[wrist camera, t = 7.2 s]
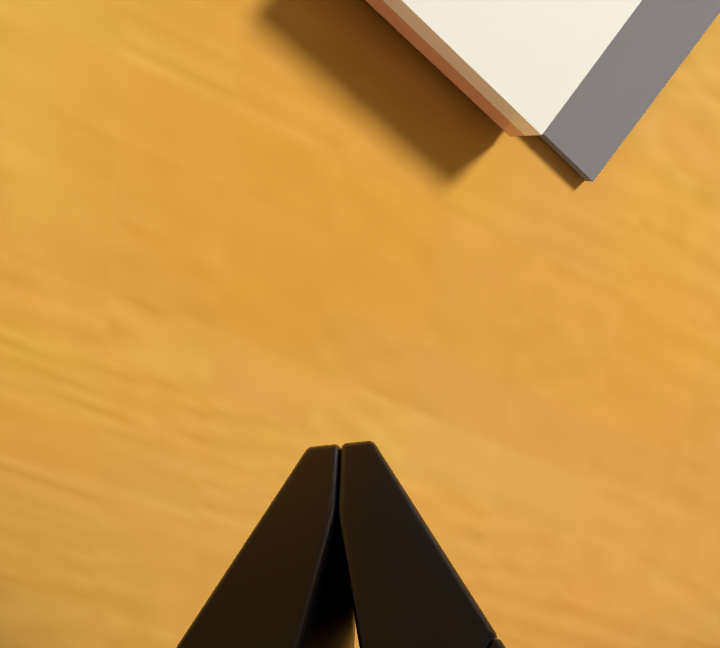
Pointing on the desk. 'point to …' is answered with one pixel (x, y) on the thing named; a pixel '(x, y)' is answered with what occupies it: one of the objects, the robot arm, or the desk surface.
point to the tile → (511, 49)
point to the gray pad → (626, 81)
